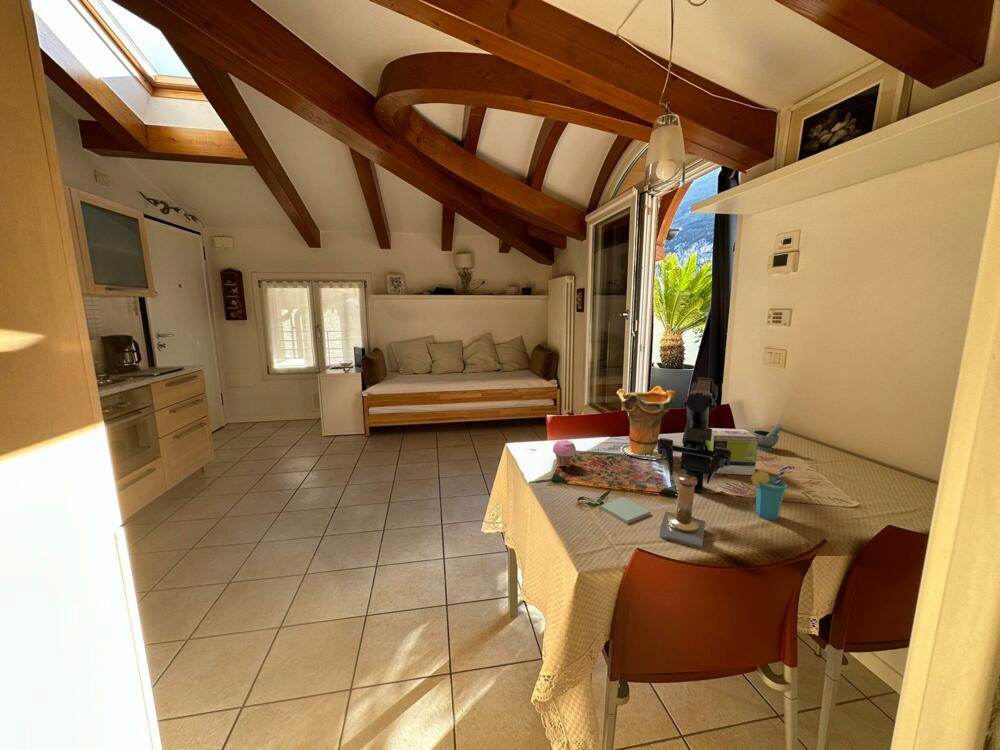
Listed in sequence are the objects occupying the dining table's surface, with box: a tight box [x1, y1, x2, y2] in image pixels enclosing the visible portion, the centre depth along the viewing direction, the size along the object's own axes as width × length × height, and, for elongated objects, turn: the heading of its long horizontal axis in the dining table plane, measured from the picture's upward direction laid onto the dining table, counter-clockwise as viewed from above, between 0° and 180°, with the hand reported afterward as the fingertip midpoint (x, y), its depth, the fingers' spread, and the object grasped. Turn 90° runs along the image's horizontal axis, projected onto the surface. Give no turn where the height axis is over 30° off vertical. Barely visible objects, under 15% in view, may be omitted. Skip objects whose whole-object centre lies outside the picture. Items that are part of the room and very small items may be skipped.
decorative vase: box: [616, 385, 677, 457], centre depth 165 cm, size 21×23×28 cm
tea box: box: [705, 427, 758, 476], centre depth 150 cm, size 15×10×15 cm
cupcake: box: [552, 439, 577, 467], centre depth 152 cm, size 9×9×10 cm
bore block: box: [658, 511, 706, 549], centre depth 107 cm, size 10×10×3 cm
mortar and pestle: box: [751, 424, 784, 453], centre depth 171 cm, size 11×9×12 cm
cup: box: [750, 465, 795, 522], centre depth 116 cm, size 14×8×15 cm, turn 107°
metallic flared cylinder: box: [668, 473, 699, 532], centre depth 106 cm, size 8×8×16 cm
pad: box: [599, 497, 652, 525], centre depth 118 cm, size 10×10×2 cm
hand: (689, 479), depth 111 cm, fingers open, 9 cm apart
